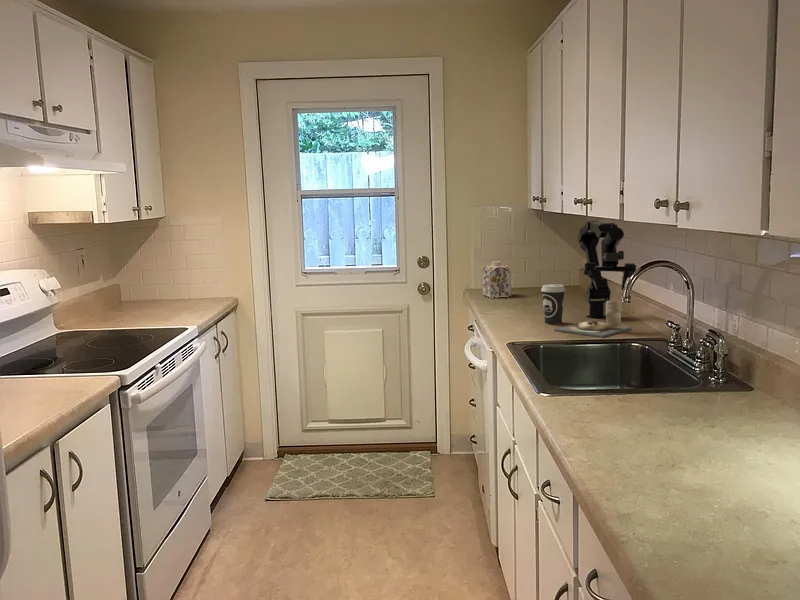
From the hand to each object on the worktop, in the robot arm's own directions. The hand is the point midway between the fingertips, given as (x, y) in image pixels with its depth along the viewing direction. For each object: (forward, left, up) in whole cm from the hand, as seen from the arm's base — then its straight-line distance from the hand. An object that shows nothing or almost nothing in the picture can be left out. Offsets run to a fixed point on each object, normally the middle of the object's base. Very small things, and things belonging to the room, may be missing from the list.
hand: (609, 289), depth 259 cm
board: (+8, -2, -15) cm, 17 cm away
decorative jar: (-40, -88, -15) cm, 98 cm away
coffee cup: (+4, -22, -15) cm, 27 cm away
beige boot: (+9, +1, -13) cm, 16 cm away
